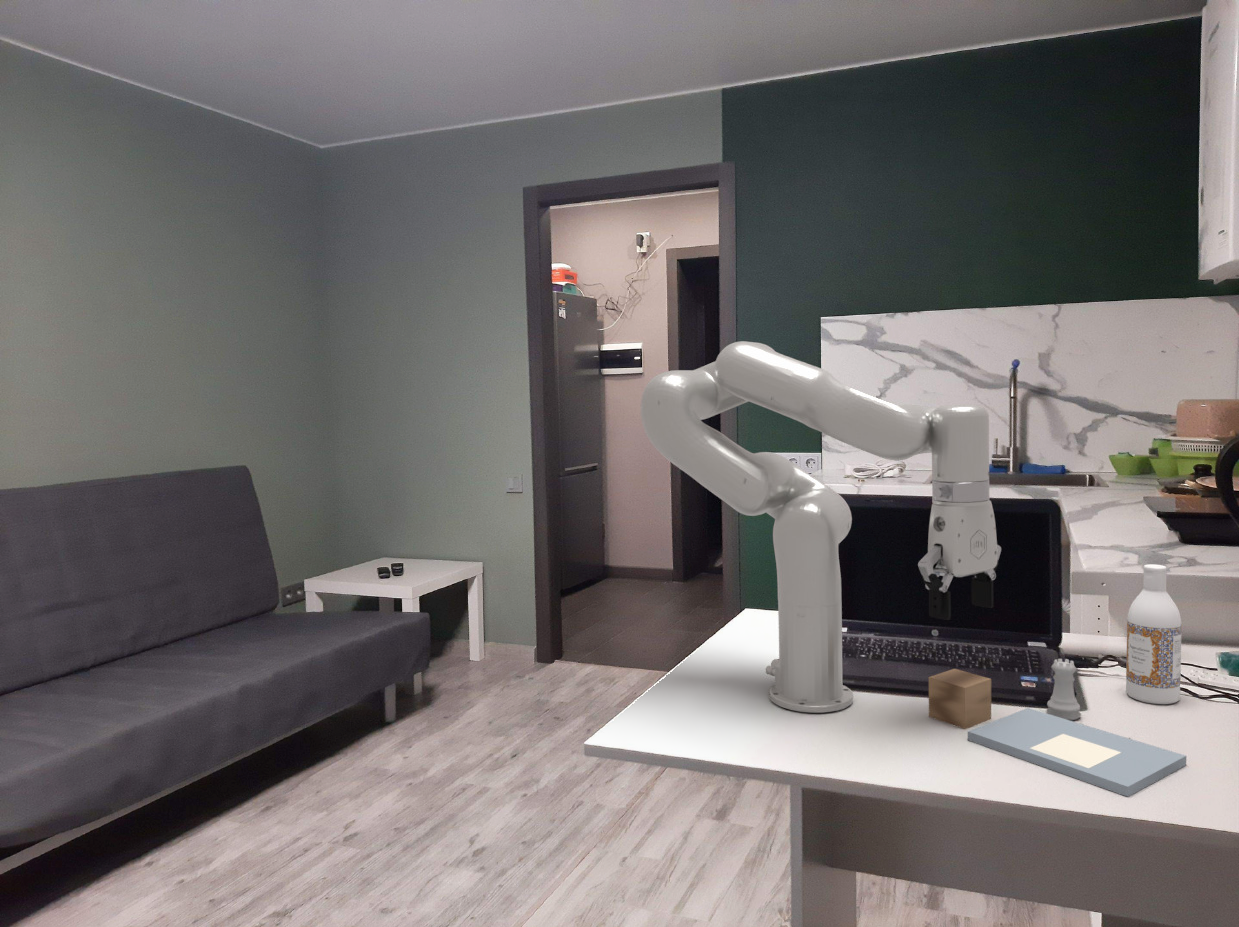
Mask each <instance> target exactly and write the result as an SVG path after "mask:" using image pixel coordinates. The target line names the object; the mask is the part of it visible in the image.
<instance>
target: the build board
mask: <svg viewBox="0 0 1239 927" xmlns="http://www.w3.org/2000/svg"><path fill="white" fill-rule="evenodd" d="M967 741H970V742H972V743H974V744H975V743H976V744H978V745H981V746H984V747H987V748H989V749H992V750H994V751H998V752H1001V753H1004V754H1006V755H1009V756H1012V757H1015V758H1017V759H1020V760H1023V761H1026V762H1029V763H1031V764H1034V765H1037V766H1040V767H1043V768H1045V769H1048V770H1051V771H1054V772H1057V773H1060V774H1063V775H1065V776H1068V777H1071V778H1074V779H1077V780H1080V781H1082V782H1085V783H1088V784H1090V785H1093V786H1095V787H1096V786H1097V787H1099V788H1102V789H1104V790H1108V791H1110V792H1114V793H1116V794H1119V795H1121V796H1124V797H1128V798H1129V797H1130V796H1132V795H1134V794H1136V793H1137V792H1139V791H1141V790H1143V789H1145V788H1147V787H1148V786H1151V785H1152V784H1154V783H1156V782H1158V781H1159V780H1162V779H1163V778H1165V777H1167V776H1169V775H1171V774H1173V773H1174V772H1176V771H1178V770H1179V769H1181V768H1183V767H1185V766H1187V755H1186V754H1182V753H1179V752H1175V751H1172V750H1170V749H1169V750H1168V749H1165V748H1162V747H1159V746H1155V745H1153V744H1149V743H1145V742H1142V741H1138V740H1135V739H1132V738H1129V737H1126V736H1124V735H1123V736H1122V735H1119V734H1116V733H1113V732H1109V731H1106V730H1103V729H1099V728H1096V727H1092V726H1090V725H1087V724H1086V725H1085V724H1083V723H1079V722H1076V721H1074V720H1073V721H1070V720H1066V719H1063V718H1060V717H1056V716H1053V715H1050V714H1048V713H1047V712H1042V711H1041V710H1036V709H1033V708H1030V707H1026V708H1025V709H1021V710H1018V711H1016V712H1014V713H1011V714H1008V715H1006V716H1004V717H1000V718H998V719H996V720H993V721H991V722H988V723H985V724H983V725H981V726H980V725H979V726H977V727H975V728H973V729H970V730H967Z"/></svg>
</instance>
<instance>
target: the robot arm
mask: <svg viewBox="0 0 1239 927" xmlns="http://www.w3.org/2000/svg"><path fill="white" fill-rule="evenodd" d="M749 402H750V403H752V404H755V405H758V406H760V407H763V408H765V409H768V410H770V411H772V412H775V413H778V414H780V415H782V416H785V417H787V418H788V419H789V418H790V419H792V420H795V421H797V422H799V423H801V424H803V425H805V426H807V427H809V428H810V429H813V430H815V431H818V432H820V433H823V434H824V435H826V436H828V437H830V438H832V439H834V440H837V441H839V442H841V443H844V444H846V445H847V446H851V447H854V448H856V449H858V450H861V451H864V452H866V453H869V454H871V455H874V456H876V457H879V458H882V459H886V460H889V461H896V462H897V461H898V462H899V461H904V460H908V459H909V458H912V457H914V456H916V455H922V454H930V453H931V479H932V480H931V484H932V486H931V489H932V490H931V492H932V498H931V499H932V500H931V502H932V504H931V510H930V515H929V522H928V523H929V524H928V539H927V543H928V544H927V553H926V554H925V555H924V556H923V557H922V558H921V559H920V560H919V561H918V563H917V566H918V569H919V572H920V574H921V579H922V580H921V581H923V583H924V584H925V585H924V586H925V589H927V590H928V615H929V617H930V618H935V619H939V620H943V621H949V620H951V618H952V605H951V604H952V601H951V600H952V599H951V597H952V595H951V591H949V590H948V589H949V587H950V585H951V582H952V580H953V578H954V577H956V578H964V577H970V576H974V577H971V580H970V581H971V588H970V589H971V605H972V606H974V607H975V606H976V607H980V608H981V607H982V608H986V609H992V608H994V580H995V579H996V578H997V574H996V571H997V569H998V567H999V559H1000V555H1001V552H1002V547H1001V546H1000V545H999V544H998V540H997V527H996V518H995V513H994V508H993V504H992V500H990V419H989V418H990V417H989V416H990V415H989V411H988V410H987V409H986V407H985V406H982V405H980V404H979V405H977V404H949V405H948V404H947V405H941V406H926V405H925V406H924V405H917V404H916V405H915V404H899V405H897V404H894V403H892V402H889V401H885V400H883V399H881V398H878V397H875V396H872V395H870V394H867V393H865V392H862V391H860V390H858V389H854V388H852V387H850V386H848V385H846V384H844V383H843V382H841V381H840V380H838V379H837V378H836V377H835V376H834V375H833V374H832V373H830V372H829V371H827V370H825V369H823V368H821V367H818V366H816V365H813V364H809V363H807V362H804V361H802V360H798V359H795V358H793V357H791V356H787V355H784V354H782V353H780V352H777V351H775V349H773V347H771V346H769V345H767V344H765V343H761V342H755V341H754V342H753V341H747V340H745V341H743V340H741V341H735V342H733V343H730V344H727V345H726V346H725V347H724V348H723V349H722V350H721V351H720V352H719V354H718V355H717V357H716V360H715V361H713V362H711V363H708V364H706V365H704V366H700V367H698V368H696V369H693V370H684V369H683V370H681V369H680V370H679V369H678V370H675V369H674V370H669V371H665V372H662V373H659V374H657V375H656V376H653V378H651V379H650V380H649V382H648V383H647V384H646V386H645V387H644V390H643V392H642V394H641V400H640V419H641V423H642V428H643V429H644V432H645V435H646V437H647V438H648V440H649V442H650V443H651V445H652V446H653V447H654V448H655V449H656V451H657V452H658V453H659V454H660V455H662V457H664V458H665V459H666V460H667V461H668V462H670V463H672V464H673V466H676V468H679V470H681V471H682V472H684V473H685V474H687V475H688V476H689V477H691V478H692V479H693V480H695V481H696V482H697V483H699V484H700V485H701V486H702V487H704V488H705V489H707V490H708V491H709V492H711V493H712V494H713V495H714V496H716V497H718V498H719V500H721V501H723V502H724V503H726V504H727V505H728V506H729V507H731V508H732V509H733V510H735V511H736V512H737V513H740V514H741V515H745V516H752V517H755V516H760V515H763V514H765V513H766V514H767V515H769V516H770V517H772V518H773V519H774V524H773V528H772V542H773V549H774V556H775V563H776V564H775V565H776V575H777V576H776V578H777V579H776V581H777V601H778V602H777V605H778V608H777V610H778V612H777V613H778V656H779V657H778V659H777V658H774V659H773V660H772V661H771V662H770V665H768V666H766V667H765V674H767V675H770V676H772V677H775V678H774V680H775V682H774V685H773V686H771V688H770V689H769V698H770V700H771V702H772V703H774V704H775V705H777V706H778V707H780V708H783V709H785V710H790V711H793V712H800V713H810V714H811V713H814V714H818V713H822V714H823V713H831V712H832V713H833V712H837V711H840V710H844V709H846V708H848V707H849V706H850V705H852V704H853V702H854V692H853V691H852V690H851V688H849V687H848V686H846V685H843V621H842V617H843V616H842V615H843V611H842V608H843V606H842V602H843V601H842V577H841V576H842V575H841V567H840V566H841V565H840V559H839V558H840V557H839V545H840V543H841V542H842V541H843V540H844V539H846V537H847V536H848V534H849V532H850V530H851V528H852V523H853V522H852V521H853V516H852V511H851V509H850V506H849V504H848V503H847V502H846V500H845V498H843V497H842V495H840V494H839V493H838V492H837V491H835V490H834V489H833V488H831V487H829V486H828V485H827V484H825V483H824V482H823V481H821V480H820V479H818V478H816V477H814V475H812V474H811V473H809V472H807V471H806V470H805V469H803V468H802V467H800V466H799V465H797V464H796V463H795V462H793V461H791V460H790V459H788V458H786V457H784V456H782V455H780V454H777V453H774V452H770V451H762V452H760V451H759V452H755V453H753V452H751V451H749V450H747V449H745V448H744V447H742V446H741V445H739V444H738V443H736V442H734V441H733V440H731V439H730V438H729V437H727V435H725V434H723V433H722V432H720V431H719V430H718V429H715V428H713V427H711V426H709V425H708V424H706V423H705V422H703V421H702V420H706V419H709V418H711V417H715V416H716V415H719V414H722V413H724V412H726V411H728V410H730V409H731V410H732V409H733V408H736V407H739V406H741V405H743V404H746V403H749ZM940 576H942V579H940V578H939V577H940Z"/></svg>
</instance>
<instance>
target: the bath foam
mask: <svg viewBox="0 0 1239 927" xmlns="http://www.w3.org/2000/svg"><path fill="white" fill-rule="evenodd" d="M1167 573H1168V572H1167V566H1165V565H1162V564H1156V563H1155V564H1152V563H1151V564H1150V563H1148V564H1144V565H1143V576H1142V577H1143V580H1142V581H1143V583H1142V584H1143V586H1142V587H1143V588H1142V590H1141V591H1140V592H1139V594H1138V595H1137V596H1136V597H1135V598H1134V600H1133V601H1132V603H1131V605H1130V606H1129V609H1128V613H1127V618H1126V661H1125V662H1126V664H1125V665H1126V666H1125V667H1126V668H1125V670H1126V671H1125V675H1126V676H1125V682H1126V684H1125V690H1126V693H1127V695H1128V696H1129V697H1130V698H1132V699H1134V700H1137V701H1139V702H1143V703H1147V704H1151V705H1152V704H1153V705H1171V704H1175V703H1177V702H1178V701H1180V698H1181V678H1182V677H1181V675H1182V674H1181V671H1182V666H1181V665H1182V628H1183V626H1182V617H1181V613H1180V611H1179V608H1178V606H1177V605H1176V603H1175V602H1174V600H1173V599H1172V597H1171V595H1170V594H1169V593H1168V591H1167V577H1168V576H1167Z"/></svg>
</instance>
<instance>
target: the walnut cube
mask: <svg viewBox="0 0 1239 927" xmlns="http://www.w3.org/2000/svg"><path fill="white" fill-rule="evenodd" d="M928 717H929V718H931V719H933V720H937V721H939V722H943V723H946V724H949V725H951V726H955V727H957V728H960V729H964V730H967V729H969V728H973V727H975V726H977V725H980V724H983V723H986V722H988V721H991V720H992V678H990V677H987V676H986V677H985V676H982V675H979V674H975V673H971V672H969V671H965V670H961V669H957V668H952V669H949V670H946V671H943V672H940V673H937V674H934V675H931V676H929V677H928Z"/></svg>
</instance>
